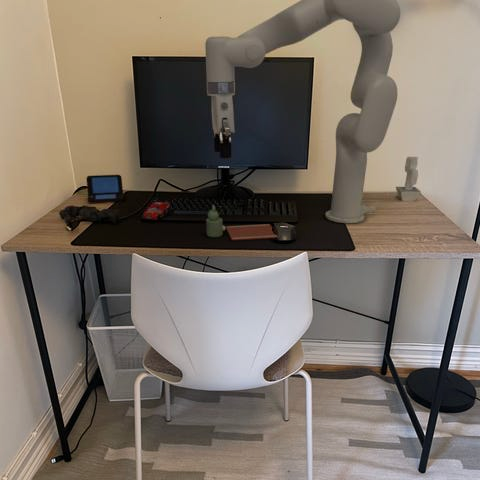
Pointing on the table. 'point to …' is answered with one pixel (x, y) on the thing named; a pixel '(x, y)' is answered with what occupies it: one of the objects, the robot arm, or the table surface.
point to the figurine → (409, 181)
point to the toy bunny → (214, 224)
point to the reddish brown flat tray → (251, 232)
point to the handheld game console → (104, 188)
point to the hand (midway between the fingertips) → (222, 154)
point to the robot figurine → (89, 214)
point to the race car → (156, 211)
